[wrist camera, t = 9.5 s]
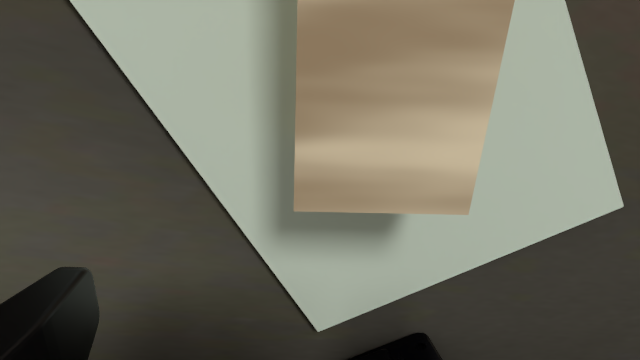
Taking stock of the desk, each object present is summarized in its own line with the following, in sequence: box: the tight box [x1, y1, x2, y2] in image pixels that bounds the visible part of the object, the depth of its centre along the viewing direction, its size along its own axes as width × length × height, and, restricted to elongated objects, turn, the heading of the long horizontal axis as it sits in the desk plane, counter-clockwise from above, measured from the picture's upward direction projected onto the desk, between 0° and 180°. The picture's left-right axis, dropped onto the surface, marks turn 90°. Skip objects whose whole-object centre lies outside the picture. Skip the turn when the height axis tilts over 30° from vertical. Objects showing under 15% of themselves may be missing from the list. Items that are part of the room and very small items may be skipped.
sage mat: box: [70, 0, 624, 332], centre depth 18 cm, size 20×14×1 cm
